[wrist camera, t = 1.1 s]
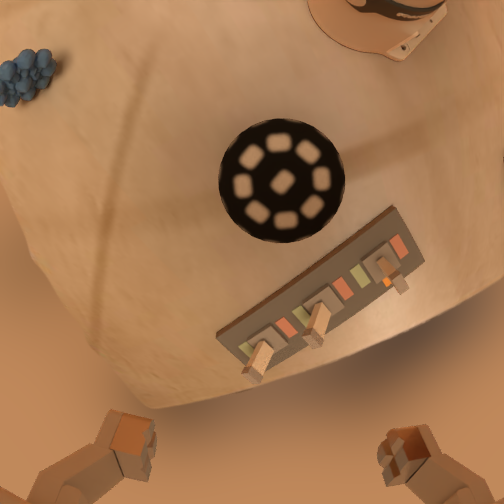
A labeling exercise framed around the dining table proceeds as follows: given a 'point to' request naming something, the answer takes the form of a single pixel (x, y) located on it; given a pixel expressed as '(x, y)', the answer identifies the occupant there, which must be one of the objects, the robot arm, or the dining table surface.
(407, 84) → the dining table surface
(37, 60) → the blue lobed flower shape
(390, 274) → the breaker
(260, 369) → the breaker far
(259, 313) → the breaker panel
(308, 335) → the breaker mid
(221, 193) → the white-spotted black cylinder
